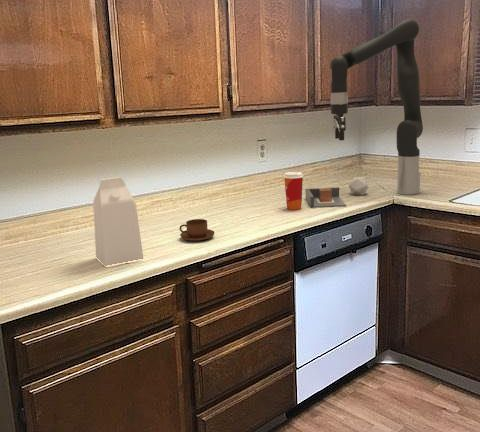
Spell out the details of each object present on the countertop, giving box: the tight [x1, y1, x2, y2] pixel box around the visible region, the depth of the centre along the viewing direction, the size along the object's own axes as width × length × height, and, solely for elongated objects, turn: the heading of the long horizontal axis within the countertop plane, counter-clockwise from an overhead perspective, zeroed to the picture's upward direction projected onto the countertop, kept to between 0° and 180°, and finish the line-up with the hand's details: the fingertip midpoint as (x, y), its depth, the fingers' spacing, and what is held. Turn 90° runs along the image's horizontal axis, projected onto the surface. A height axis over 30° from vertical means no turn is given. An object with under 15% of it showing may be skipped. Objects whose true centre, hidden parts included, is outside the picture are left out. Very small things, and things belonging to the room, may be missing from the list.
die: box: [348, 176, 369, 196], centre depth 249 cm, size 8×9×10 cm
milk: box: [92, 176, 144, 266], centre depth 168 cm, size 12×12×26 cm
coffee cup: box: [283, 171, 304, 211], centre depth 226 cm, size 8×8×15 cm
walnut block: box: [318, 187, 332, 202], centre depth 236 cm, size 5×5×5 cm
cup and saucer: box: [179, 218, 215, 242], centre depth 190 cm, size 12×12×6 cm
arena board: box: [304, 187, 347, 209], centre depth 236 cm, size 15×18×5 cm
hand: (339, 139), depth 246 cm, fingers open, 8 cm apart
